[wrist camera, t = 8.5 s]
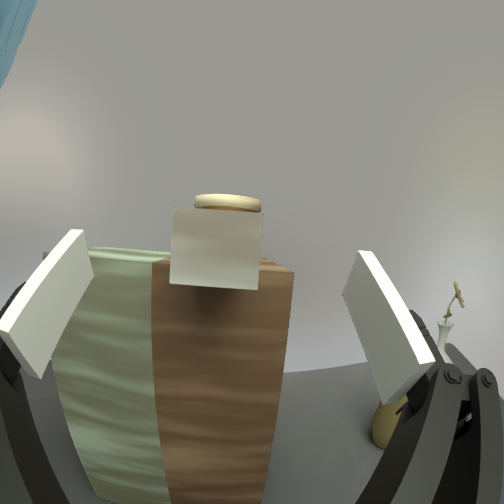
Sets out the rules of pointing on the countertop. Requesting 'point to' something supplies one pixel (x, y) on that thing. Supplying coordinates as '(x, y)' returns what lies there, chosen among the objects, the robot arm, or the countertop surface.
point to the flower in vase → (447, 327)
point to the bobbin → (217, 242)
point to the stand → (173, 380)
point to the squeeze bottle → (385, 422)
